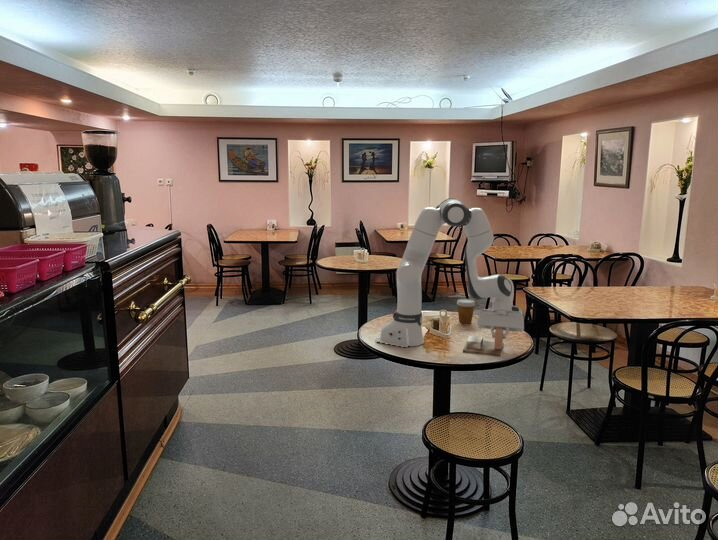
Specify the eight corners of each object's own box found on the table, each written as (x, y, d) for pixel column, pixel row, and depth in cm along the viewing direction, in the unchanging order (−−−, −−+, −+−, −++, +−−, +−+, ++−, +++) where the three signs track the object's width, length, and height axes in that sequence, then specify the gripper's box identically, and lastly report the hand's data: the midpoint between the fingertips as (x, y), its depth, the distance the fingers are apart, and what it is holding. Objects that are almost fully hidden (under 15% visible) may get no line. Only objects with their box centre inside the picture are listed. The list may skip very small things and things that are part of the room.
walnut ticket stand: (462, 352, 225) (463, 343, 224) (468, 341, 240) (468, 333, 239) (500, 356, 219) (500, 347, 219) (503, 345, 234) (503, 336, 233)
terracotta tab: (494, 348, 225) (495, 331, 224) (495, 345, 230) (496, 328, 228) (501, 349, 224) (502, 331, 223) (502, 346, 229) (503, 328, 227)
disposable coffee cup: (478, 324, 267) (479, 302, 264) (462, 326, 263) (463, 303, 261) (467, 319, 275) (468, 298, 273) (452, 321, 272) (453, 299, 270)
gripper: (478, 305, 235) (474, 331, 227) (525, 309, 228) (522, 336, 220) (479, 312, 240) (475, 338, 232) (525, 316, 233) (522, 343, 225)
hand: (499, 337), depth 226 cm, fingers closed on terracotta tab, 3 cm apart
